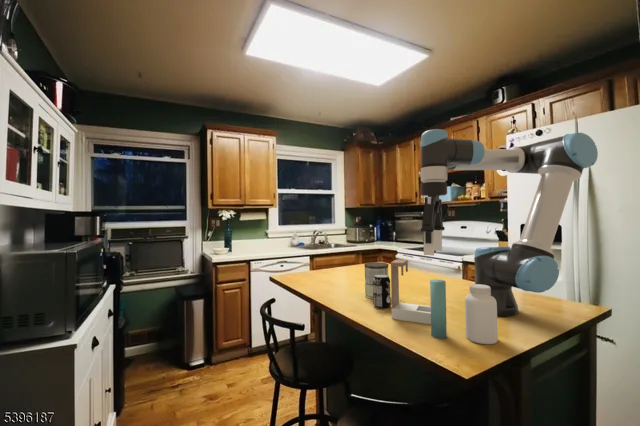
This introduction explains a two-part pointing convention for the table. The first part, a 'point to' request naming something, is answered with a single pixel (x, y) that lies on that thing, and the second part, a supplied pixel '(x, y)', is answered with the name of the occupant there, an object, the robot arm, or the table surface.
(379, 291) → the beverage can
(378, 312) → the table surface
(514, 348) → the table surface
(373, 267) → the coffee can
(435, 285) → the peg
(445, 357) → the table surface
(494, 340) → the pill bottle
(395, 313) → the station
